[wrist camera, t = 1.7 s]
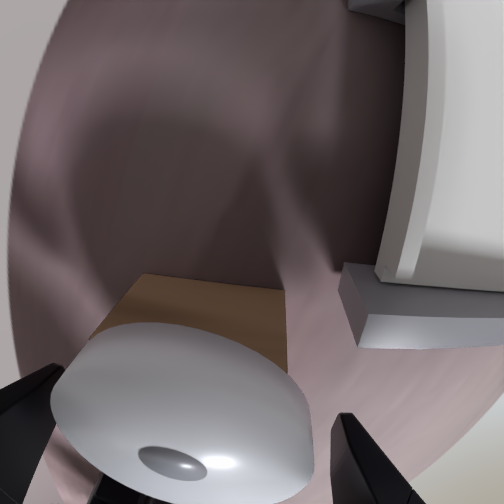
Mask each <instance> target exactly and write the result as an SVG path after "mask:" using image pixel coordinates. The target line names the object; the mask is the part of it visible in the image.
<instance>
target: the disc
mask: <svg viewBox="0 0 504 504" xmlns="http://www.w3.org/2000/svg"><path fill="white" fill-rule="evenodd" d="M50 403H51V410H52V413H53V416H54V419H55V421H56V423H57V425H58V427H59V429H60V430H61V432H62V433H63V435H64V436H65V438H66V439H67V440H68V441H69V443H70V444H71V445H72V446H73V447H74V448H75V449H76V450H77V451H78V452H79V453H80V454H81V455H82V456H83V457H84V458H85V459H86V460H87V461H89V462H90V463H91V464H92V465H94V466H95V467H96V468H98V469H99V470H100V471H102V472H103V473H105V474H106V475H108V476H109V477H111V478H113V479H114V480H116V481H118V482H120V483H121V484H123V485H125V486H127V487H129V488H131V489H134V490H136V491H138V492H140V493H143V494H145V495H148V496H151V497H153V498H156V499H159V500H163V501H166V502H169V503H173V504H275V503H278V502H281V501H283V500H286V499H288V498H290V497H292V496H293V495H295V494H296V493H298V492H299V491H301V490H302V489H303V488H304V487H305V486H306V485H307V484H308V482H309V481H310V480H311V477H312V475H313V472H314V453H313V439H312V425H311V414H310V409H309V405H308V403H307V400H306V398H305V396H304V394H303V393H302V391H301V390H300V388H299V387H298V385H297V384H296V383H295V382H294V381H293V380H292V379H291V377H290V376H289V375H288V374H287V373H286V372H284V371H283V370H282V369H281V368H279V367H278V366H277V365H276V364H274V363H273V362H272V361H270V360H269V359H267V358H265V357H264V356H262V355H261V354H259V353H258V352H256V351H254V350H252V349H250V348H248V347H246V346H244V345H242V344H240V343H238V342H235V341H233V340H230V339H228V338H225V337H223V336H220V335H217V334H214V333H210V332H207V331H204V330H200V329H196V328H191V327H187V326H182V325H177V324H167V323H159V322H139V323H130V324H123V325H119V326H115V327H112V328H109V329H107V330H104V331H102V332H100V333H98V334H97V335H95V336H94V337H93V338H91V339H90V340H89V341H88V342H87V343H86V345H85V346H84V347H83V348H82V349H81V351H80V352H79V353H78V355H77V356H76V357H75V359H74V360H73V361H72V363H71V364H70V365H69V367H68V368H67V369H66V371H65V372H64V373H63V375H62V376H61V377H60V379H59V380H58V381H57V383H56V384H55V386H54V387H53V390H52V393H51V400H50Z"/></svg>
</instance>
